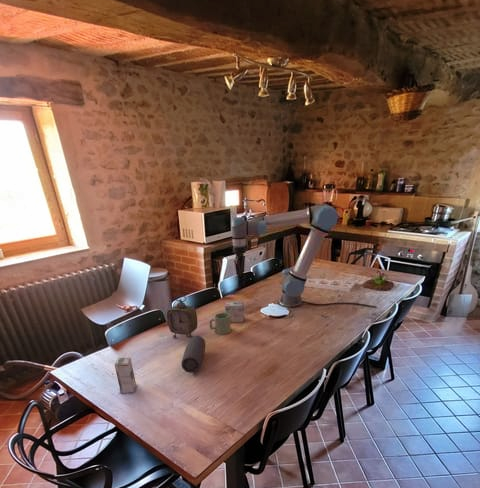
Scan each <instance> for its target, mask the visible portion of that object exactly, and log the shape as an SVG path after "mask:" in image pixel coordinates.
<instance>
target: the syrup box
mask: <svg viewBox="0 0 480 488" xmlns="http://www.w3.org/2000/svg"><path fill="white" fill-rule="evenodd" d="M115 360H116V361H115V363H114V369H115V374H116V377H117V383H118V386H119V391H120V393H121V394H126V393H127V394H128V393H135V390H136V387H137V382H136V377H135V373H134V372H135V371H134V366H133V362H132V357H129V356H124V357H117V358H116V359H115Z"/></svg>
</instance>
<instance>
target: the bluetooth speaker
mask: <svg viewBox="0 0 480 488" xmlns="http://www.w3.org/2000/svg"><path fill="white" fill-rule="evenodd" d="M205 352H206V341H205V339H204V338H203V337H202V336H201V335H194V336H193V335H192V338H191V339H190V338H189V340H188V342H187V345H186V347H185V349H184V351H183V356H182V359H181V368H182V370H183V371H185V372H186V373H190V374H191V373H193V374H194V373H197V372H198V371H199V369H200V368H201V365H202V362H203V359H204V357H205Z"/></svg>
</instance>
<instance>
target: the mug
mask: <svg viewBox="0 0 480 488" xmlns="http://www.w3.org/2000/svg"><path fill="white" fill-rule="evenodd" d="M208 320H209V329H210V330H211V331H212V330H215V332H216V334H219V335H227V334H230V333H231V332H232V326H231V325H232V324H231V323H232V322H230V314H228V313H225V312H218V313H216V314H215V315H214V318H210V319H208ZM213 322H214V324H215V326H213Z"/></svg>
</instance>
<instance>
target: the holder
mask: <svg viewBox="0 0 480 488" xmlns="http://www.w3.org/2000/svg"><path fill="white" fill-rule="evenodd" d="M356 286H358V281H357V280H349V279H345V280H341V279H324V278H320V279H317V278H316V279H315V278H307V280H306V283H305V285H304V287H306V288H307V287H309V288H315V289H324V290H329V291H331V290H332V291H338V292H347V293H350V292H352V290H354V288H355V287H356Z"/></svg>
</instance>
